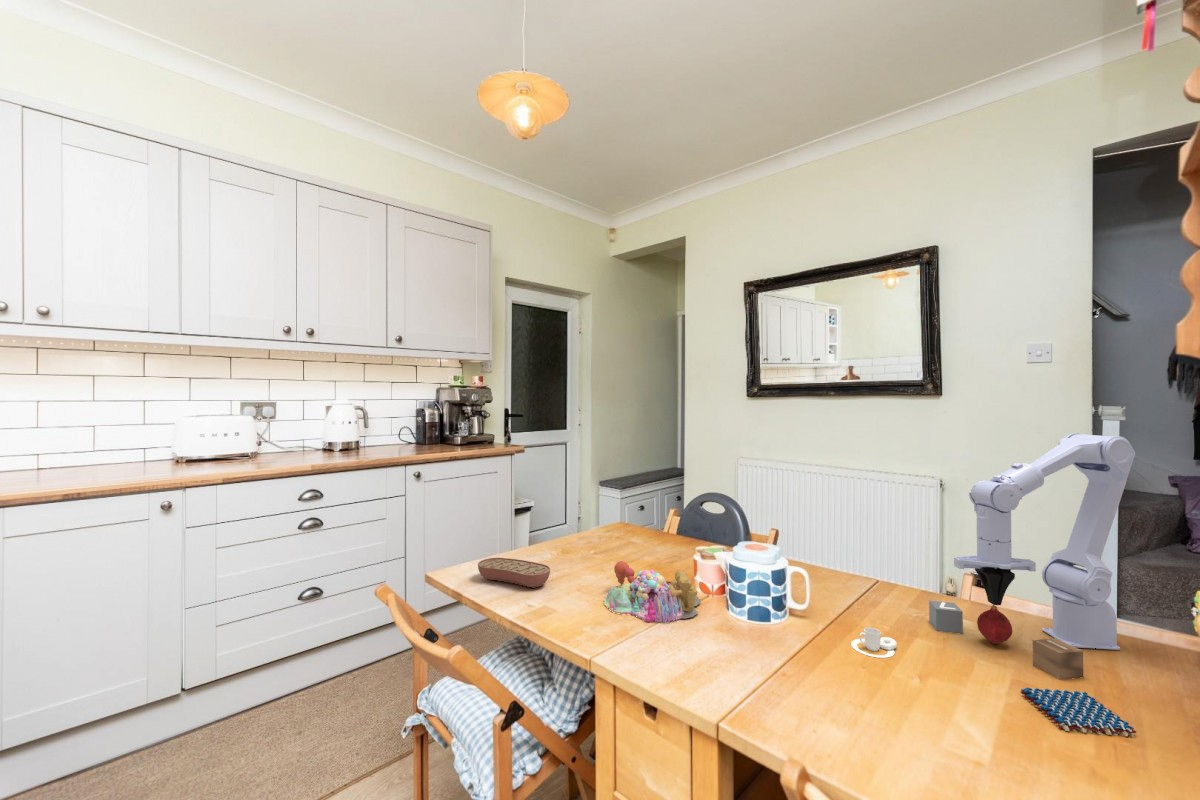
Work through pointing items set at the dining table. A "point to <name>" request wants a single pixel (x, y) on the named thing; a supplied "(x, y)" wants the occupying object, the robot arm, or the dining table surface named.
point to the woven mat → (1077, 712)
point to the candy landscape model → (652, 595)
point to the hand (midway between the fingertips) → (994, 603)
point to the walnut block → (1058, 658)
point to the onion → (994, 626)
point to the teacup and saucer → (875, 643)
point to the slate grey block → (946, 616)
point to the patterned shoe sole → (514, 571)
